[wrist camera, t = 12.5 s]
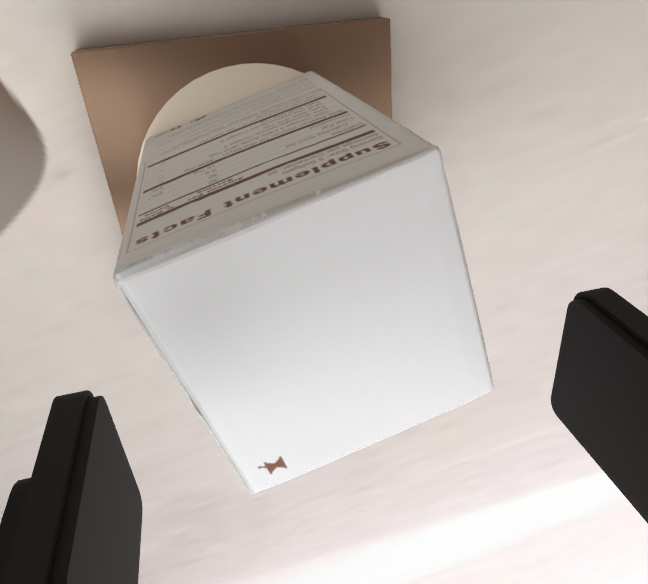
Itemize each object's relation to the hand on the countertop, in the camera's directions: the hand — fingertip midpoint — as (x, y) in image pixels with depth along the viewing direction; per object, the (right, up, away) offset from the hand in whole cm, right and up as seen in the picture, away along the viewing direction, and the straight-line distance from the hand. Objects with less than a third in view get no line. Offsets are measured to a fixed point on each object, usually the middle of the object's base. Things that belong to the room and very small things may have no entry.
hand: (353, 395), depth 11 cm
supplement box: (-3, +7, +13) cm, 15 cm away
